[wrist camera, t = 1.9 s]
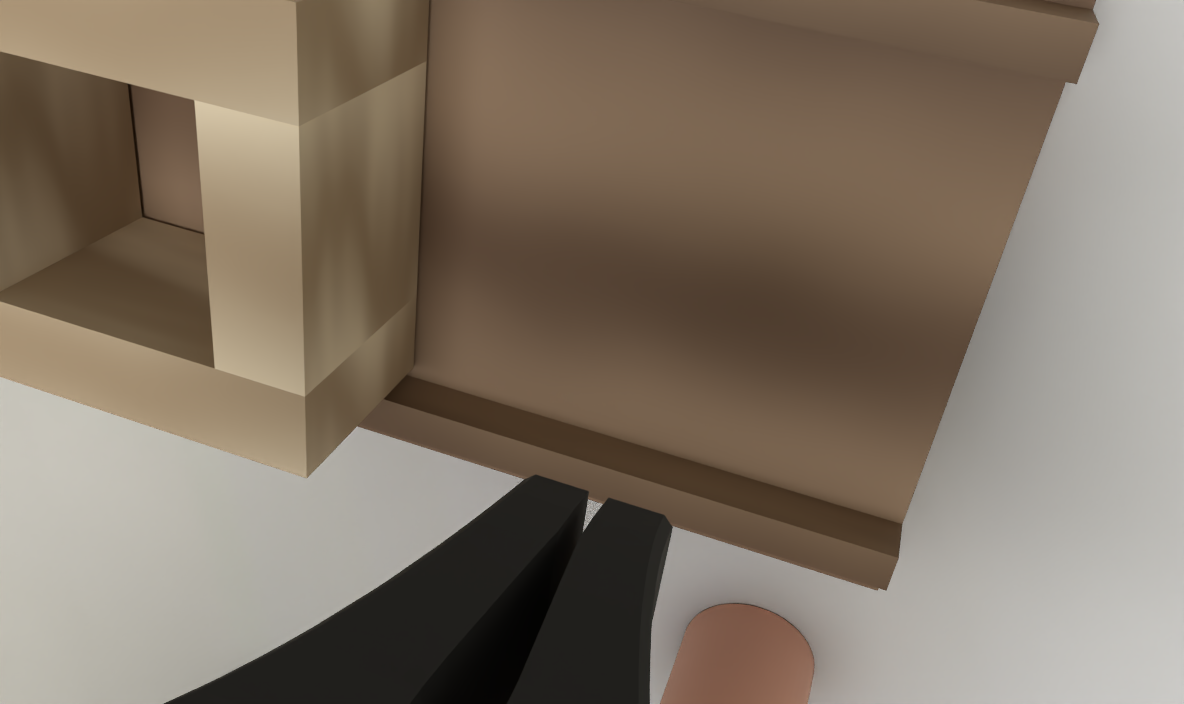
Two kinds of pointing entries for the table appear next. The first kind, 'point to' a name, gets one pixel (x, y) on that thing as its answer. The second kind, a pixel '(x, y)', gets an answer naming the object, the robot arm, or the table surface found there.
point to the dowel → (740, 660)
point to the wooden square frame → (215, 215)
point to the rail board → (705, 245)
